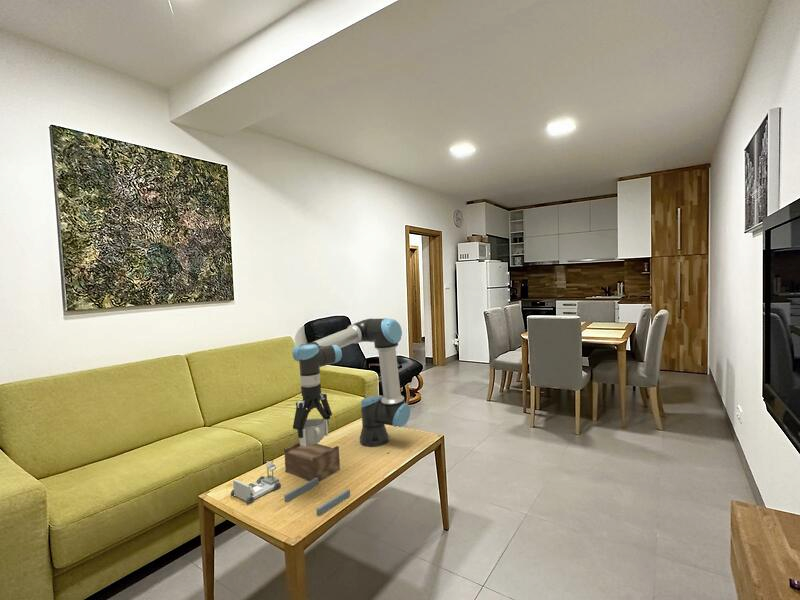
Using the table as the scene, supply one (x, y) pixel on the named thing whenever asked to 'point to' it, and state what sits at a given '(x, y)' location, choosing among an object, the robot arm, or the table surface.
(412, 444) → the table surface
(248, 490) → the toy rover
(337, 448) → the walnut stand
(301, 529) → the table surface
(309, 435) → the teacup
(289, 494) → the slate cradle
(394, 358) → the robot arm
